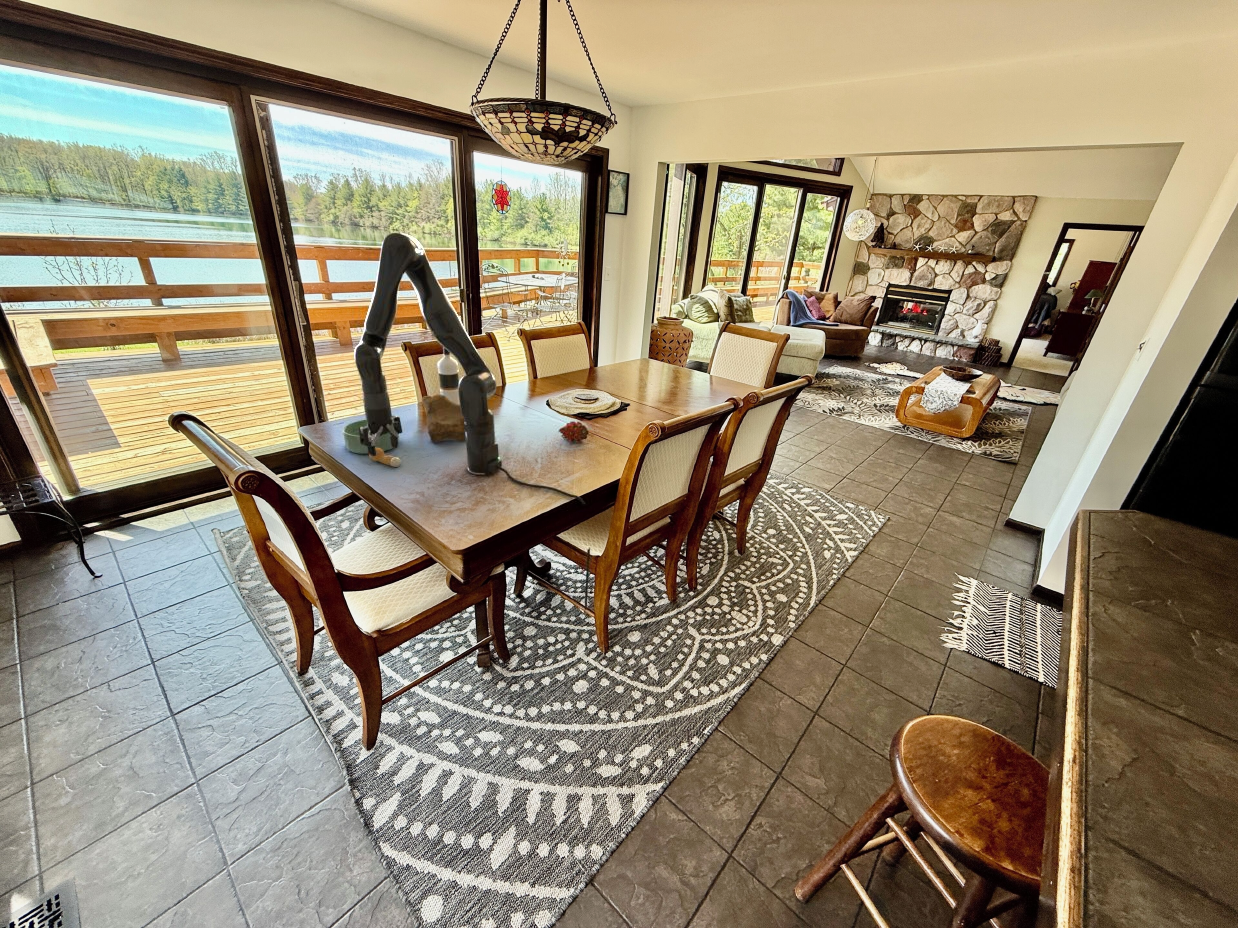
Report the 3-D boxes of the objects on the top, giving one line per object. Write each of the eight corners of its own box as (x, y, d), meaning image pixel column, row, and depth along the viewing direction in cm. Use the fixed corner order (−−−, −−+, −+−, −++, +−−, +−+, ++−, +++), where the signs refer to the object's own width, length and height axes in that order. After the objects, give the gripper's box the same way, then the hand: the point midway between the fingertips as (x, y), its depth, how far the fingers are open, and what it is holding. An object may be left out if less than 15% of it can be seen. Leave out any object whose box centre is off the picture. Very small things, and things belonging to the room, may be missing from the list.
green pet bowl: (410, 442, 177) (407, 424, 174) (370, 459, 162) (366, 440, 159) (376, 432, 183) (373, 415, 180) (335, 447, 169) (331, 429, 165)
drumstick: (405, 465, 160) (403, 452, 158) (394, 470, 156) (392, 457, 154) (378, 456, 165) (376, 444, 163) (367, 461, 161) (364, 448, 159)
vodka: (446, 415, 203) (439, 344, 190) (437, 409, 209) (429, 340, 196) (466, 411, 209) (461, 342, 196) (457, 405, 215) (451, 338, 202)
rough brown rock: (407, 443, 178) (401, 406, 170) (432, 424, 192) (428, 389, 184) (464, 454, 174) (460, 417, 166) (486, 434, 188) (483, 399, 180)
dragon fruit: (589, 447, 186) (560, 447, 189) (592, 429, 190) (563, 429, 193) (584, 435, 179) (554, 436, 182) (587, 416, 183) (557, 417, 186)
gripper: (366, 413, 145) (374, 461, 152) (403, 401, 156) (409, 446, 163) (348, 408, 147) (357, 455, 154) (387, 396, 159) (393, 441, 166)
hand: (384, 451), depth 159 cm, fingers open, 8 cm apart
